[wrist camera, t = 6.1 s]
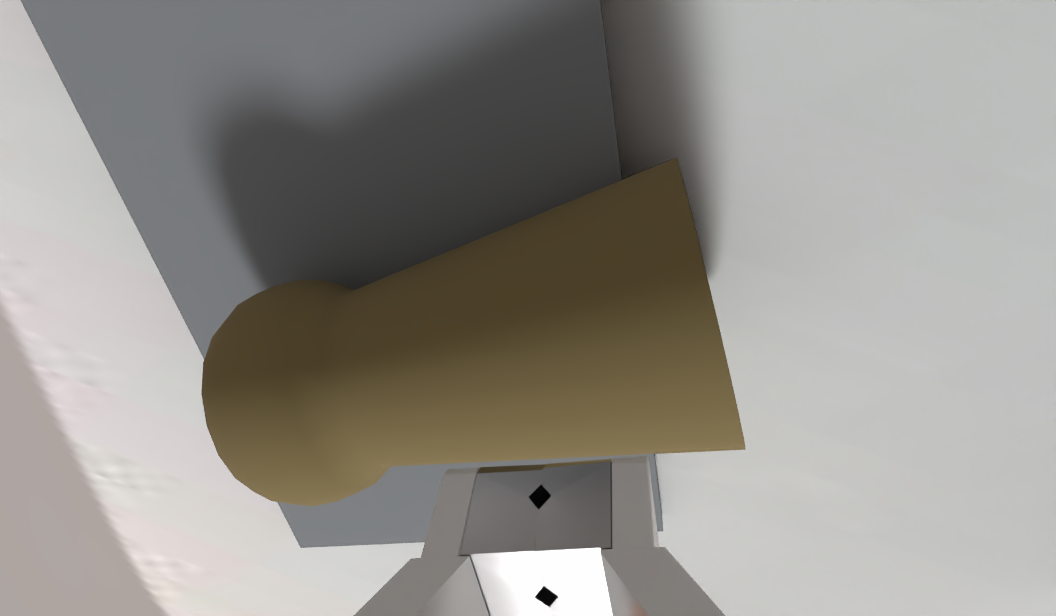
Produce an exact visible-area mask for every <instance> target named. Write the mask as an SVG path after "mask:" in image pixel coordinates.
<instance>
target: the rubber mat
mask: <svg viewBox="0 0 1056 616" xmlns="http://www.w3.org/2000/svg"><path fill="white" fill-rule="evenodd" d="M21 2H22V4H23V6H24V8H25V10H26V12H27V14H28V16H29V18H30V20H31V22H32V24H33V26H34V27H35V29H36V31H37V33H38V35H39V37H40V39H41V41H42V43H43V45H44V47H45V49H46V51H47V53H48V55H49V57H50V59H51V61H52V63H53V65H54V67H55V69H56V70H57V72H58V74H59V76H60V78H61V80H62V82H63V84H64V86H65V88H66V90H67V92H68V94H69V96H70V98H71V100H72V102H73V104H74V106H75V108H76V110H77V112H78V113H79V115H80V117H81V119H82V121H83V123H84V125H85V127H86V129H87V131H88V133H89V135H90V137H91V139H92V141H93V143H94V145H95V147H96V149H97V151H98V153H99V154H100V156H101V158H102V160H103V162H104V164H105V166H106V168H107V170H108V172H109V174H110V176H111V178H112V180H113V182H114V184H115V186H116V188H117V190H118V192H119V194H120V196H121V197H122V199H123V201H124V203H125V205H126V207H127V209H128V211H129V213H130V215H131V217H132V219H133V221H134V223H135V225H136V227H137V229H138V231H139V233H140V235H141V237H142V239H143V240H144V242H145V244H146V246H147V248H148V250H149V252H150V254H151V256H152V258H153V260H154V262H155V264H156V266H157V268H158V270H159V272H160V274H161V276H162V278H163V280H164V282H165V283H166V285H167V287H168V289H169V291H170V293H171V295H172V297H173V299H174V301H175V303H176V305H177V307H178V309H179V311H180V313H181V315H182V317H183V319H184V321H185V323H186V325H187V326H188V328H189V330H190V332H191V334H192V336H193V338H194V340H195V342H196V344H197V346H198V348H199V350H200V352H201V354H202V356H203V358H204V359H205V356H206V353H207V350H208V347H209V344H210V341H211V339H212V337H213V335H214V334H215V333H216V331H217V330H218V329H219V328H220V326H221V325H222V324H223V323H224V321H225V320H226V319H227V318H228V316H229V315H230V314H231V313H232V311H233V310H234V309H235V307H236V306H237V305H238V304H240V303H241V302H243V301H245V300H247V299H248V298H250V297H252V296H253V295H255V294H257V293H259V292H261V291H264V290H266V289H268V288H270V287H273V286H275V285H279V284H283V283H287V282H292V281H296V280H322V281H328V282H334V283H339V284H341V285H343V286H346V287H348V288H351V289H353V290H356V289H358V288H360V287H363V286H365V285H368V284H370V283H373V282H375V281H377V280H380V279H382V278H385V277H387V276H390V275H392V274H394V273H397V272H399V271H402V270H404V269H407V268H409V267H411V266H414V265H416V264H419V263H421V262H424V261H426V260H428V259H431V258H433V257H436V256H438V255H441V254H443V253H445V252H448V251H450V250H453V249H455V248H458V247H460V246H462V245H465V244H467V243H470V242H472V241H475V240H477V239H479V238H482V237H484V236H487V235H489V234H492V233H494V232H496V231H499V230H501V229H504V228H506V227H509V226H511V225H513V224H516V223H518V222H521V221H523V220H526V219H528V218H530V217H533V216H535V215H538V214H540V213H543V212H545V211H547V210H550V209H552V208H555V207H557V206H560V205H562V204H564V203H567V202H569V201H572V200H574V199H577V198H579V197H581V196H584V195H586V194H589V193H591V192H594V191H596V190H598V189H601V188H603V187H606V186H608V185H610V184H613V183H615V182H618V181H620V180H622V178H621V169H620V161H619V153H618V144H617V136H616V127H615V119H614V111H613V102H612V94H611V86H610V77H609V69H608V61H607V52H606V44H605V36H604V27H603V19H602V10H601V2H600V0H21ZM637 456H647V457H648V461H649V467H650V475H651V483H652V491H653V500H654V508H655V516H656V524H657V531H663V522H662V512H661V503H660V495H659V487H658V478H657V470H656V462H655V454H639V455H618V456H597V457H576V458H556V459H535V460H514V461H493V462H472V463H451V464H430V465H410V466H391V467H390V468H389V469H388V470H387V471H386V472H385V473H384V475H383V476H382V477H381V478H380V479H379V480H378V481H377V482H376V483H375V484H374V485H372V486H370V487H368V488H366V489H364V490H362V491H360V492H358V493H355V494H353V495H351V496H349V497H346V498H344V499H341V500H339V501H337V502H332V503H327V504H322V505H317V506H304V505H294V504H287V503H282V502H278V504H279V506H280V508H281V510H282V512H283V514H284V516H285V518H286V520H287V522H288V524H289V526H290V528H291V530H292V532H293V534H294V536H295V538H296V539H297V541H298V543H299V545H300V547H301V548H306V547H327V546H349V545H371V544H393V543H415V542H425V541H426V537H427V533H428V529H429V526H430V522H431V518H432V514H433V511H434V507H435V503H436V499H437V496H438V492H439V488H440V484H441V480H442V477H443V476H444V474H445V473H446V471H447V470H448V469H466V468H480V467H495V466H518V465H541V464H545V465H546V464H551V463H564V462H577V461H590V460H603V459H612V460H613V458H625V457H637Z"/></svg>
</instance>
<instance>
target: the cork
mask: <svg viewBox="0 0 1056 616" xmlns="http://www.w3.org/2000/svg"><path fill="white" fill-rule="evenodd" d="M202 399H203V405H204V411H205V418H206V424H207V427H208V430H209V432H210V435H211V437H212V440H213V442H214V445H215V447H216V450H217V453H218V455H219V456H220V458H221V459H222V461H223V462H224V463H225V465H226V466H227V468H228V469H229V470H230V472H231V473H232V474H233V476H234V477H235V478H236V479H237V480H239V481H240V482H241V483H243V484H244V485H245V486H247V487H248V488H250V489H251V490H252V491H254V492H256V493H257V494H259V495H261V496H263V497H265V498H267V499H269V500H271V501H276V502H282V503H287V504H294V505H304V506H317V505H322V504H327V503H332V502H337V501H339V500H341V499H344V498H346V497H349V496H351V495H353V494H355V493H358V492H360V491H362V490H364V489H366V488H368V487H370V486H372V485H374V484H375V483H376V482H377V481H378V480H379V479H380V478H381V477H382V476H383V475H384V473H385V472H386V471H387V470H388V469H389V468H390V467H391V466H410V465H430V464H451V463H472V462H493V461H514V460H535V459H556V458H576V457H597V456H618V455H639V454H660V453H681V452H702V451H723V450H743V449H745V443H744V437H743V432H742V428H741V423H740V418H739V413H738V409H737V404H736V400H735V395H734V391H733V386H732V382H731V377H730V373H729V368H728V364H727V360H726V355H725V351H724V347H723V342H722V338H721V334H720V329H719V325H718V321H717V317H716V312H715V308H714V304H713V300H712V296H711V291H710V287H709V283H708V279H707V275H706V270H705V266H704V262H703V258H702V254H701V250H700V246H699V242H698V238H697V234H696V229H695V225H694V221H693V217H692V213H691V209H690V205H689V202H688V198H687V194H686V190H685V186H684V182H683V178H682V175H681V171H680V168H679V164H678V160H677V158H674V159H671V160H669V161H666V162H664V163H661V164H659V165H657V166H654V167H652V168H649V169H647V170H644V171H642V172H640V173H637V174H635V175H632V176H630V177H627V178H625V179H623V180H620V181H618V182H615V183H613V184H610V185H608V186H606V187H603V188H601V189H598V190H596V191H594V192H591V193H589V194H586V195H584V196H581V197H579V198H577V199H574V200H572V201H569V202H567V203H564V204H562V205H560V206H557V207H555V208H552V209H550V210H547V211H545V212H543V213H540V214H538V215H535V216H533V217H530V218H528V219H526V220H523V221H521V222H518V223H516V224H513V225H511V226H509V227H506V228H504V229H501V230H499V231H496V232H494V233H492V234H489V235H487V236H484V237H482V238H479V239H477V240H475V241H472V242H470V243H467V244H465V245H462V246H460V247H458V248H455V249H453V250H450V251H448V252H445V253H443V254H441V255H438V256H436V257H433V258H431V259H428V260H426V261H424V262H421V263H419V264H416V265H414V266H411V267H409V268H407V269H404V270H402V271H399V272H397V273H394V274H392V275H390V276H387V277H385V278H382V279H380V280H377V281H375V282H373V283H370V284H368V285H365V286H363V287H360V288H358V289H356V290H353V289H351V288H348V287H346V286H343V285H341V284H339V283H334V282H328V281H322V280H296V281H292V282H287V283H283V284H279V285H275V286H273V287H270V288H268V289H266V290H264V291H261V292H259V293H257V294H255V295H253V296H252V297H250V298H248V299H247V300H245V301H243V302H241V303H240V304H238V305H237V306H236V307H235V309H234V310H233V311H232V313H231V314H230V315H229V316H228V318H227V319H226V320H225V321H224V323H223V324H222V325H221V326H220V328H219V329H218V330H217V331H216V333H215V334H214V335H213V337H212V339H211V341H210V344H209V347H208V350H207V353H206V356H205V359H204V362H203V378H202Z"/></svg>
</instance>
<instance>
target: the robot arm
mask: <svg viewBox="0 0 1056 616" xmlns="http://www.w3.org/2000/svg"><path fill="white" fill-rule="evenodd" d="M354 616H725V615H724V614H723V613H722V611H721V610H720V609H719V608H718V607H717V606H716V605H715V603H714V602H713V601H712V600H711V599H710V598H709V597H708V595H707V594H706V593H705V592H704V591H703V590H702V589H701V587H700V586H699V585H698V584H697V583H696V582H695V581H694V580H693V578H692V577H691V576H690V575H689V574H688V573H687V572H686V570H685V569H684V568H683V567H682V566H681V565H680V564H679V562H678V561H677V560H676V559H675V558H674V557H673V556H672V555H671V553H670V552H669V551H668V550H667V549H666V548H665V547H659V541H658V533H657V524H656V516H655V508H654V500H653V491H652V483H651V475H650V467H649V461H648V457H647V456H637V457H625V458H613V460H612V459H603V460H590V461H577V462H564V463H551V464H546V465H545V464H541V465H518V466H495V467H480V468H466V469H448V470H447V471H446V473H445V474H444V476H443V477H442V480H441V484H440V488H439V492H438V496H437V499H436V503H435V507H434V511H433V514H432V518H431V522H430V526H429V529H428V533H427V537H426V541H425V545H424V548H423V552H422V556H421V558H415V559H410V560H409V561H408V562H407V563H406V564H405V565H404V566H403V567H402V568H401V569H400V570H399V571H398V572H397V573H396V574H395V575H394V576H393V577H392V578H391V579H390V580H389V581H388V582H387V583H386V584H385V585H384V586H383V587H382V588H381V589H380V590H379V591H378V592H377V593H376V594H375V595H374V596H373V597H372V598H371V599H370V600H369V601H368V602H367V603H366V604H365V605H364V606H363V607H362V608H361V609H360V610H359V611H358V612H357V613H356V614H355V615H354Z"/></svg>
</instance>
